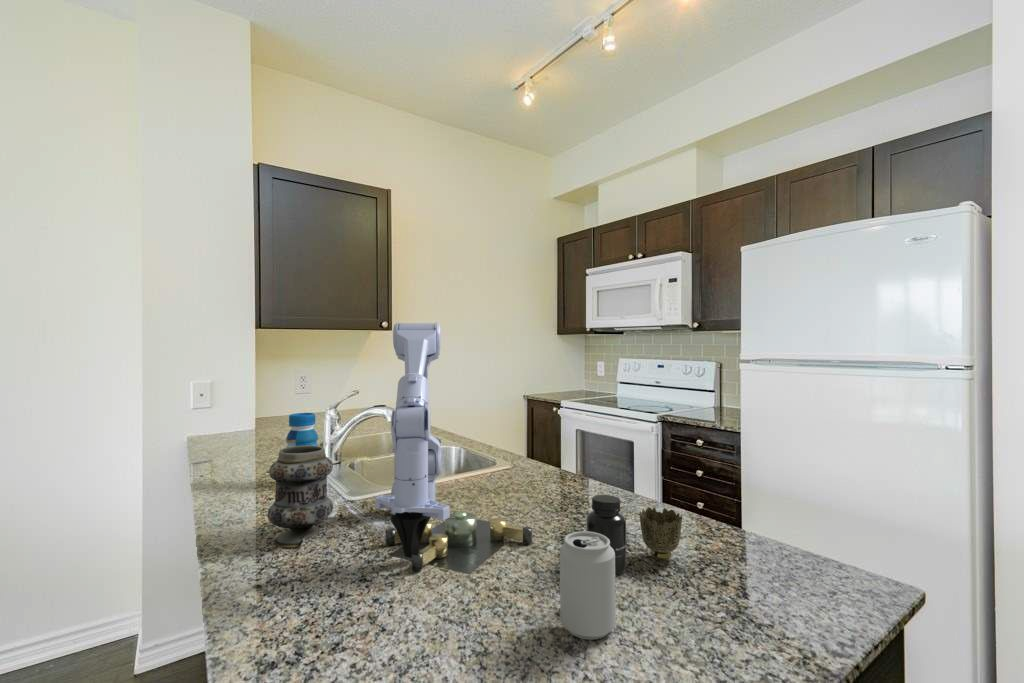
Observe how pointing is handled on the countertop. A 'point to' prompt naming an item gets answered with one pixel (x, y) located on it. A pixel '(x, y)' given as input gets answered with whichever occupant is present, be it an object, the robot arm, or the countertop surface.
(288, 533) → the apothecary jar
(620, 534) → the supplement bottle
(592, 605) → the can
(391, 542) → the lever left
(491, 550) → the plate
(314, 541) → the countertop surface
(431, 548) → the lever front
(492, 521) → the lever right
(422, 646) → the countertop surface
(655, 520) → the cup
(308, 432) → the beverage bottle
